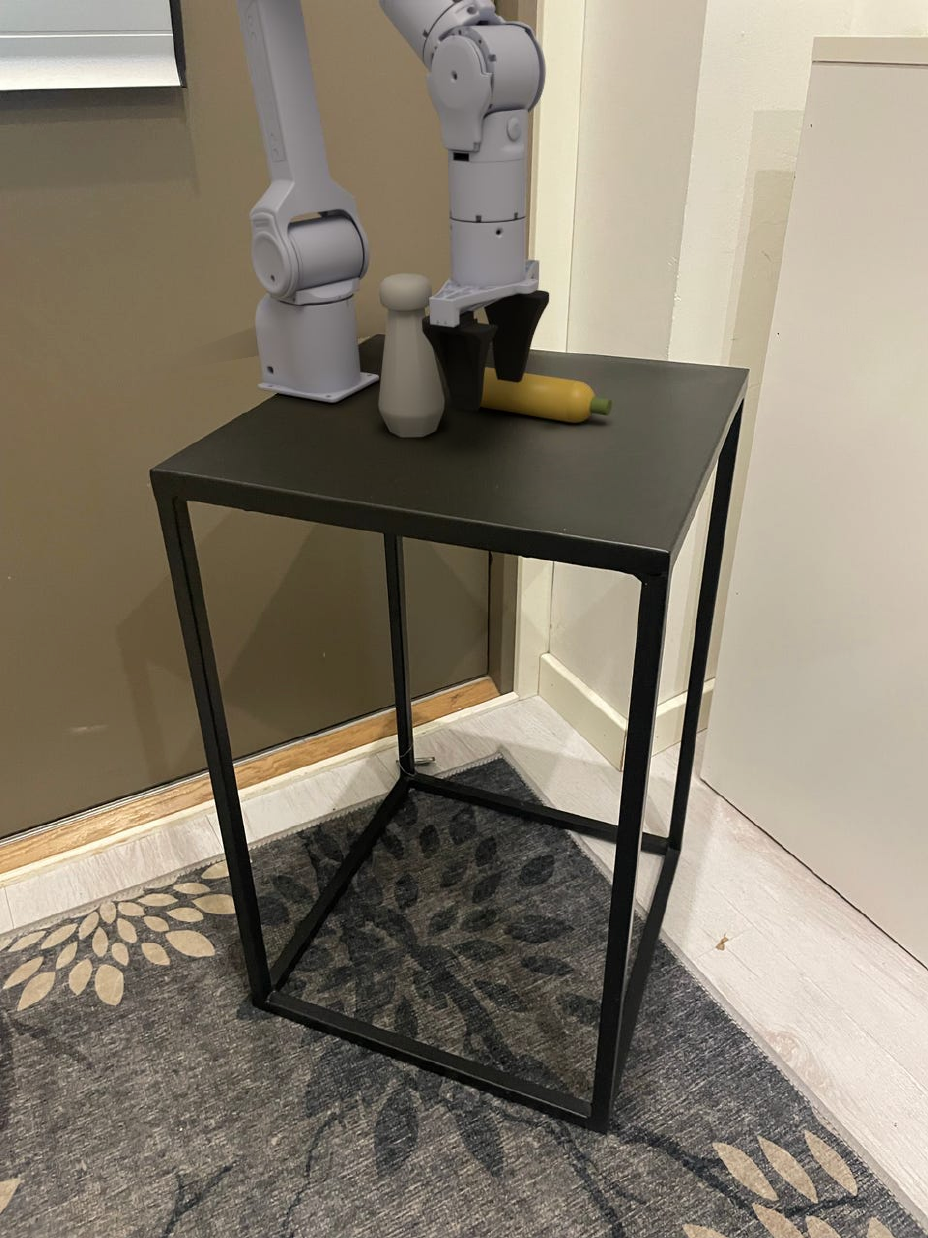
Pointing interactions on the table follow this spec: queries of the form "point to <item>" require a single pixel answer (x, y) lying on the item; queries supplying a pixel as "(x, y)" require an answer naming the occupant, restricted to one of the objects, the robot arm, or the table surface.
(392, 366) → the salt shaker
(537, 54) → the robot arm
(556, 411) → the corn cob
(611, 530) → the table surface
